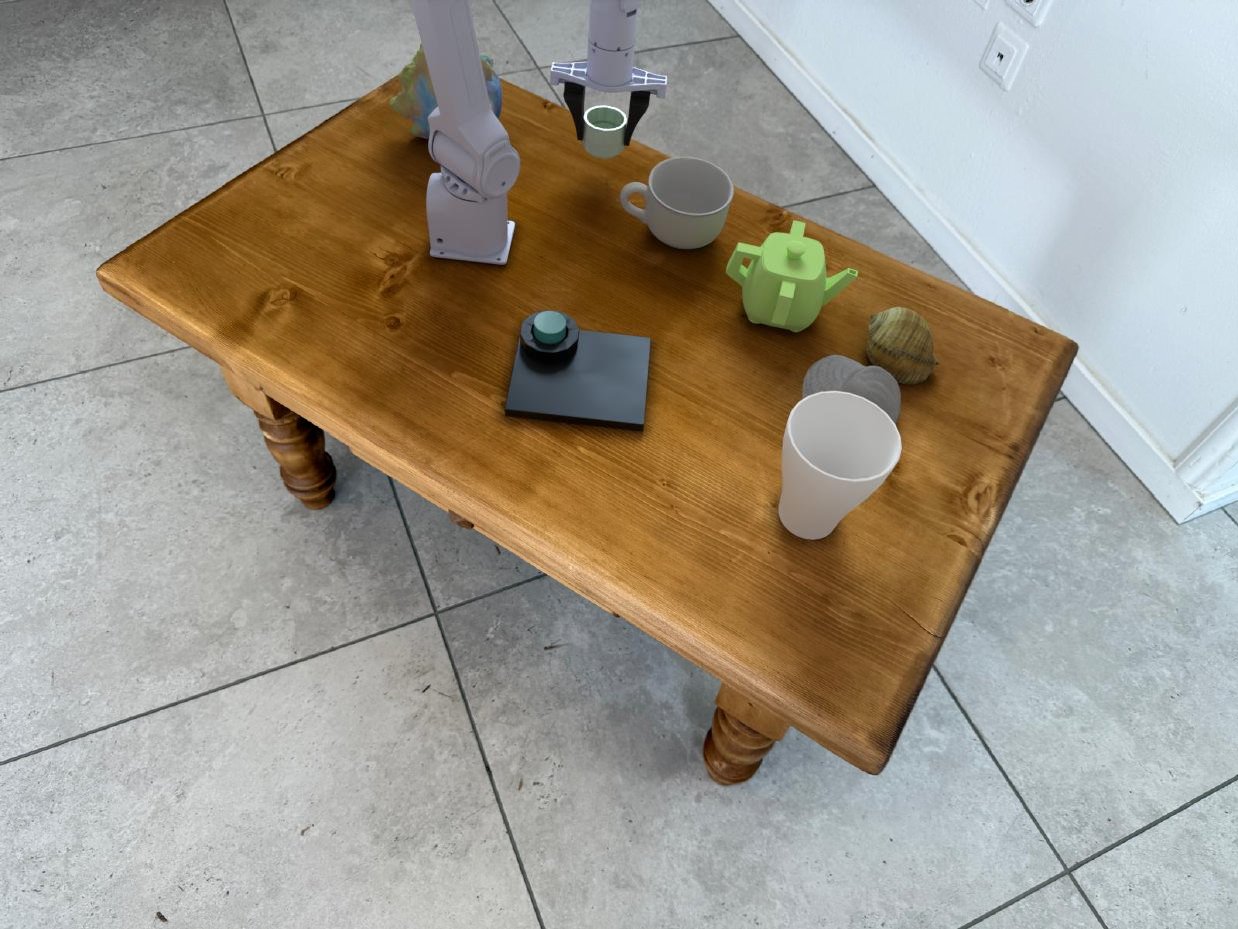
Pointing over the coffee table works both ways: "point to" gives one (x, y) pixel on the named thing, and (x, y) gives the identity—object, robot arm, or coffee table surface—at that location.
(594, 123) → the pale green handleless cup
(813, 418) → the cup
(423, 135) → the decorative rock
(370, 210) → the coffee table surface
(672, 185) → the teacup
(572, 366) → the scale
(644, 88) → the robot arm
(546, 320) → the button
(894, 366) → the seashell
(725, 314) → the coffee table surface
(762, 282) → the teapot
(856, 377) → the seashell
